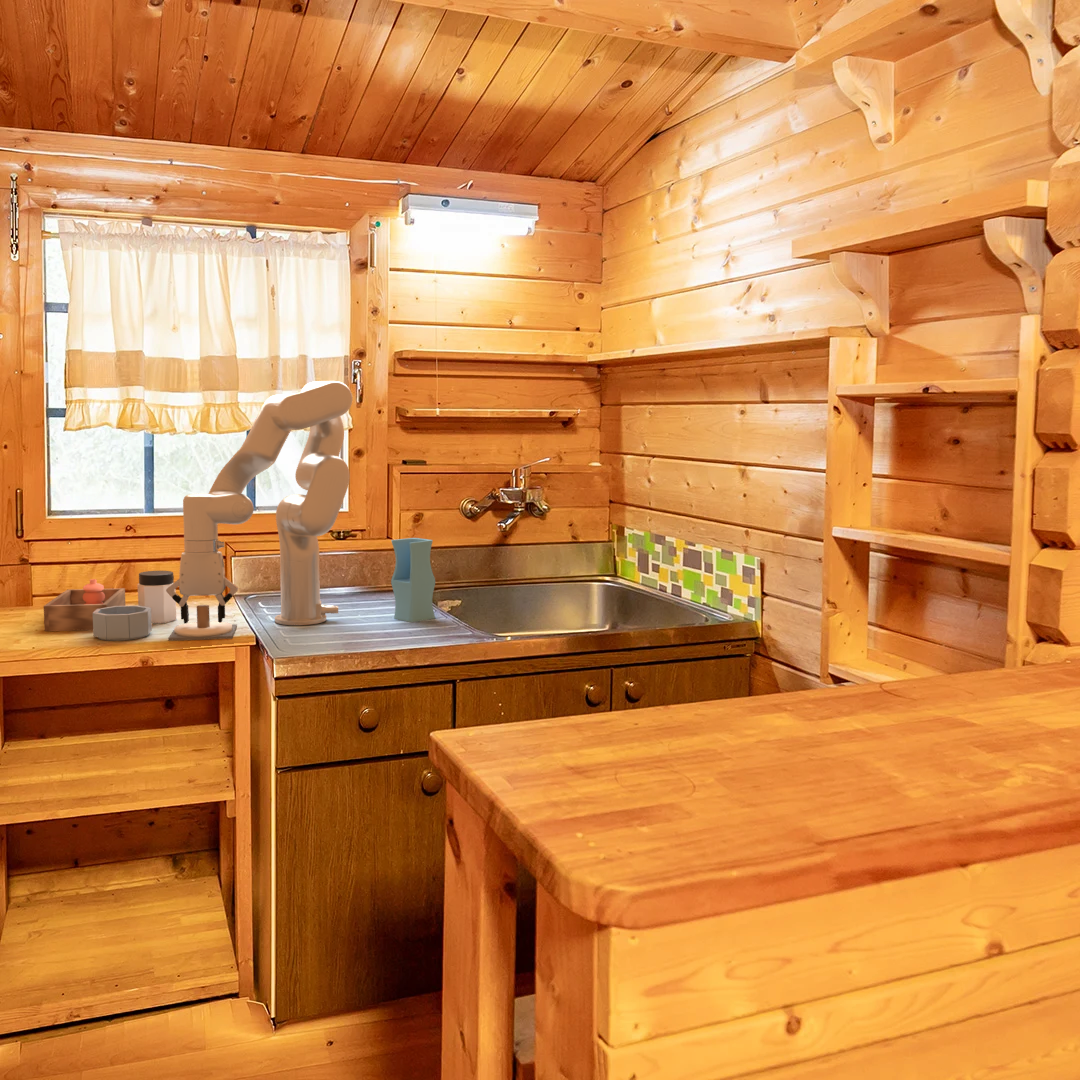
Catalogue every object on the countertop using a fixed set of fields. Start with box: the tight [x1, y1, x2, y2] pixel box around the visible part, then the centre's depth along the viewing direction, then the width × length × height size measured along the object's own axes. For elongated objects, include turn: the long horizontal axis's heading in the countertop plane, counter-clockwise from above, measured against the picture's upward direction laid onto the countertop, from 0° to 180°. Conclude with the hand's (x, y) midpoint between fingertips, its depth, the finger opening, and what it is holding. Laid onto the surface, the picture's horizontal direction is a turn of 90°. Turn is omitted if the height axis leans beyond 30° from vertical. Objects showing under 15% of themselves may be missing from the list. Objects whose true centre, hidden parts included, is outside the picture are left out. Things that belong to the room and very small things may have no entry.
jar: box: [137, 570, 177, 624], centre depth 272 cm, size 9×8×12 cm
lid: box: [173, 604, 232, 637], centre depth 257 cm, size 13×13×6 cm
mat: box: [167, 623, 238, 641], centre depth 258 cm, size 14×14×1 cm
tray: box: [43, 587, 126, 632], centre depth 271 cm, size 14×24×6 cm, turn 11°
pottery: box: [82, 578, 105, 604], centre depth 270 cm, size 18×10×10 cm, turn 5°
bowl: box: [92, 604, 153, 642], centre depth 254 cm, size 12×12×6 cm
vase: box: [390, 537, 436, 623], centre depth 278 cm, size 8×8×20 cm
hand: (203, 621), depth 257 cm, fingers open, 7 cm apart
